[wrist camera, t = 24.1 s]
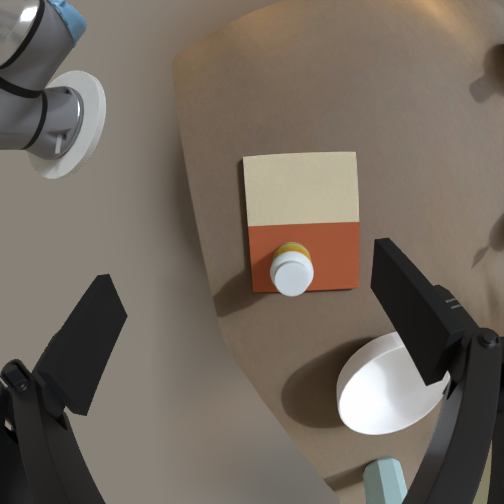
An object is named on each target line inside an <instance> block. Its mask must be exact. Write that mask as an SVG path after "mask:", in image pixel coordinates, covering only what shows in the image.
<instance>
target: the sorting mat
mask: <svg viewBox="0 0 504 504" xmlns="http://www.w3.org/2000/svg"><path fill="white" fill-rule="evenodd" d="M243 167H244V180H245V193H246V206H247V219H248V233H249V246H250V259H251V272H252V285H253V292H279V291H278V289H277V288H276V286H275V285H274V284H273V282H272V280H271V276H270V269H271V265H272V261H273V257H274V254H275V252H276V250H277V249H278V248H279V247H280V246H281V245H283V244H285V243H288V242H296V243H299V244H301V245H302V246H304V247H305V248H306V249H307V251H308V252H309V255H310V258H311V262H312V266H313V271H314V274H313V279H312V281H311V283H310V285H309V286H308V287H307V289H306V290H305V291H311V290H333V289H351V288H358V279H359V200H358V179H357V164H356V152H315V153H291V154H274V155H260V156H248V157H243Z"/></svg>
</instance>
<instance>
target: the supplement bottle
mask: <svg viewBox="0 0 504 504" xmlns="http://www.w3.org/2000/svg"><path fill="white" fill-rule="evenodd" d="M313 274H314V271H313V266H312V262H311V258H310V255H309V252H308V251H307V249H306V248H305V247H304V246H302V245H301V244H299V243H296V242H288V243H285V244H283V245H281V246H280V247H279V248H278V249H277V250H276V252H275V254H274V257H273V261H272V265H271V269H270V276H271V280H272V282H273V284H274V285H275V286H276V288H277V289H278V291H279V292H281V293H282V294H284V295H286V296H297V295H300V294H301V293H303V292H304V291H305V290H306V289H307V287H308V286H309V285H310V283H311V281H312V279H313Z"/></svg>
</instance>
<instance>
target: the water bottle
mask: <svg viewBox="0 0 504 504" xmlns="http://www.w3.org/2000/svg"><path fill="white" fill-rule="evenodd" d="M363 481H364V488H365V495H366V503H367V504H402V502H403V500H404V498H405V496H406V494H407V489H406V485H405V481H404V477H403V473H402V469H401V465H400V462H399V461H397V460H395V459H393V458H391V457H386V458H380V459H377V460H375V461H373V462H372V463H370V464H368V465H367V466H366V468H365V471H364V473H363Z"/></svg>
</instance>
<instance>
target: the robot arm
mask: <svg viewBox="0 0 504 504" xmlns="http://www.w3.org/2000/svg"><path fill="white" fill-rule="evenodd" d="M86 27H87V23H86V20H85V19H84V18H83V16H82V15H81V14H80V13H79V12H78V11H77V10H75V9H74V8H73V7H72V6H71V5H70V4H68V3H66V1H64V0H0V149H1V150H5V149H7V150H26V151H28V152H30V153H32V154H34V155H36V156H37V157H39V158H42V159H45V160H55V159H58V158H60V157H62V156H64V155H65V154H66V153H67V152H68V151H69V150H70V149H71V147H72V146H73V145H74V143H75V141H76V139H77V137H78V135H79V133H80V130H81V127H82V123H83V118H84V104H83V99H82V97H81V95H80V93H79V92H78V91H77V90H75V89H73V88H70V87H67V86H59V87H52V88H45V86H46V85H47V83H48V82H49V80H50V79H51V77H52V76H53V74H54V73H55V72H56V70H57V69H58V67H59V66H60V64H61V63H62V62H63V60H64V59H65V58H66V56H67V55H68V54H69V52H70V51H71V50H72V49H73V48H74V47H75V45H76V43H77V41H78V40H79V39H80V37H81V36H82V35H83V33H84V32H85V30H86ZM44 88H45V89H44ZM371 289H372V290H373V292H374V294H375V295H376V297H377V299H378V300H379V302H380V304H381V305H382V307H383V309H384V310H385V312H386V314H387V315H388V317H389V319H390V321H391V322H392V324H393V326H394V327H395V329H396V331H397V333H398V335H399V336H400V338H401V340H402V342H403V344H404V345H405V347H406V349H407V351H408V353H409V355H410V356H411V358H412V360H413V362H414V364H415V366H416V368H417V370H418V372H419V374H420V376H421V378H422V379H423V381H424V383H425V385H426V386H429V385H431V384H434V383H437V382H439V381H442V379H443V378H444V376H445V374H446V372H447V371H448V372H449V374H450V376H451V378H450V380H449V382H448V384H447V385H446V387H445V389H444V391H443V392H442V394H445V392H446V394H445V397H444V401H443V404H442V408H441V411H440V414H439V417H438V420H437V423H436V426H435V429H434V432H433V435H432V438H431V440H430V443H429V446H428V448H427V451H426V453H425V456H424V458H423V460H422V463H421V465H420V467H419V470H418V472H417V474H416V476H415V478H414V480H413V482H412V484H411V486H410V488H409V490H408V492H407V494H406V496H405V498H404V500H403V502H402V504H472V503H473V500H474V498H475V495H476V492H477V490H478V487H479V483H480V481H481V477H482V474H483V471H484V467H485V464H486V460H487V456H488V452H489V448H490V444H491V440H492V461H491V475H490V486H489V494H488V501H487V504H504V337H499V335H498V334H497V333H496V332H495V331H493V330H491V329H489V328H479V326H478V325H477V324H476V323H475V321H474V320H473V319H472V318H471V316H470V315H469V314H468V313H467V311H466V310H465V309H464V308H463V307H462V306H461V304H460V303H459V302H458V301H457V300H455V297H454V296H453V295H452V294H451V293H450V291H449V290H447V289H445V288H444V287H442V286H440V285H435V286H433V285H432V284H431V283H430V282H429V281H428V280H427V279H426V277H425V276H424V275H423V274H422V273H421V272H420V271H419V270H418V268H417V267H416V266H415V265H414V264H413V263H412V262H411V261H410V260H409V259H408V258H407V256H406V255H405V254H404V253H403V252H402V251H401V250H400V249H399V248H398V247H397V246H396V245H395V244H394V243H393V242H392V241H391V240H390V239H389V238H382V239H375V242H374V256H373V267H372V278H371ZM126 318H127V314H126V312H125V310H124V307H123V305H122V303H121V301H120V298H119V296H118V294H117V291H116V289H115V287H114V284H113V282H112V280H111V277H110V275H109V274H106V275H98V276H97V277H96V278H95V280H94V281H93V282H92V284H91V285H90V287H89V288H88V289H87V291H86V292H85V294H84V295H83V296H82V298H81V299H80V301H79V302H78V304H77V305H76V307H75V308H74V310H73V311H72V313H71V314H70V316H69V317H68V319H67V320H66V322H65V323H64V325H63V326H62V328H61V329H60V330H59V331H58V332H57V333H56V334H55V335H54V336H53V337H52V339H51V340H50V342H49V344H48V346H47V347H46V349H45V350H44V352H43V354H42V355H41V357H40V359H39V361H38V362H37V364H36V366H35V367H34V369H33V371H32V373H30V372H29V371H28V370H27V368H26V367H25V366H24V364H23V363H22V361H20V360H19V359H14V360H12V361H10V362H8V363H7V364H6V365H5V366H4V367H3V369H2V371H1V374H0V377H1V378H2V380H3V381H4V382H5V383H6V384H7V385H8V387H5V386H4V384H3V383H2V382H1V381H0V504H106V503H105V502H104V500H103V498H102V496H101V494H100V493H99V491H98V489H97V487H96V485H95V483H94V481H93V478H92V476H91V474H90V472H89V470H88V468H87V466H86V463H85V461H84V459H83V456H82V454H81V452H80V449H79V447H78V444H77V442H76V439H75V436H74V434H73V431H72V428H71V425H70V422H69V419H68V416H67V415H66V413H65V412H64V411H63V410H64V408H65V406H67V407H68V408H69V410H70V411H71V412H72V413H74V414H79V415H84V416H87V413H88V410H89V407H90V405H91V402H92V399H93V397H94V394H95V391H96V389H97V386H98V384H99V381H100V379H101V376H102V374H103V371H104V369H105V366H106V364H107V361H108V359H109V357H110V354H111V352H112V350H113V347H114V345H115V343H116V340H117V338H118V336H119V334H120V331H121V329H122V327H123V325H124V323H125V321H126ZM5 420H6V421H7V422H8V423H9V424H10V425H11V426H12V427H11V430H9V429H8V428H7V427H6V426H5Z"/></svg>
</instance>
